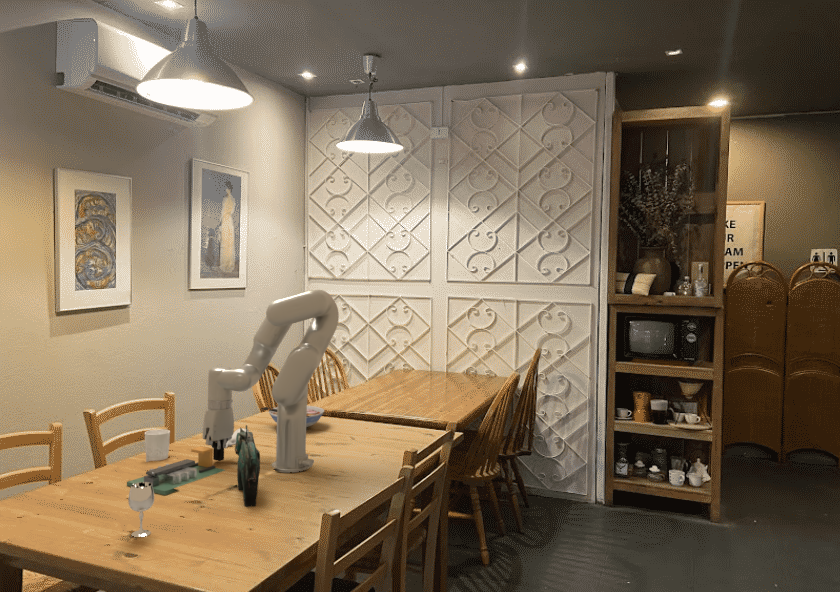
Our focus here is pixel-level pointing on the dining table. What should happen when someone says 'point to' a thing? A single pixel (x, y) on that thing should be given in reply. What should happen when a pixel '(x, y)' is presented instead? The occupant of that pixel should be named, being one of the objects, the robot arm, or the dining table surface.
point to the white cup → (157, 444)
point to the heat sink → (172, 476)
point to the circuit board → (169, 488)
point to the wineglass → (141, 503)
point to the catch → (204, 456)
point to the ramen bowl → (311, 415)
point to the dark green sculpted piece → (247, 466)
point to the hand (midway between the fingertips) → (218, 459)
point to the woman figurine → (234, 437)
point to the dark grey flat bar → (170, 467)
